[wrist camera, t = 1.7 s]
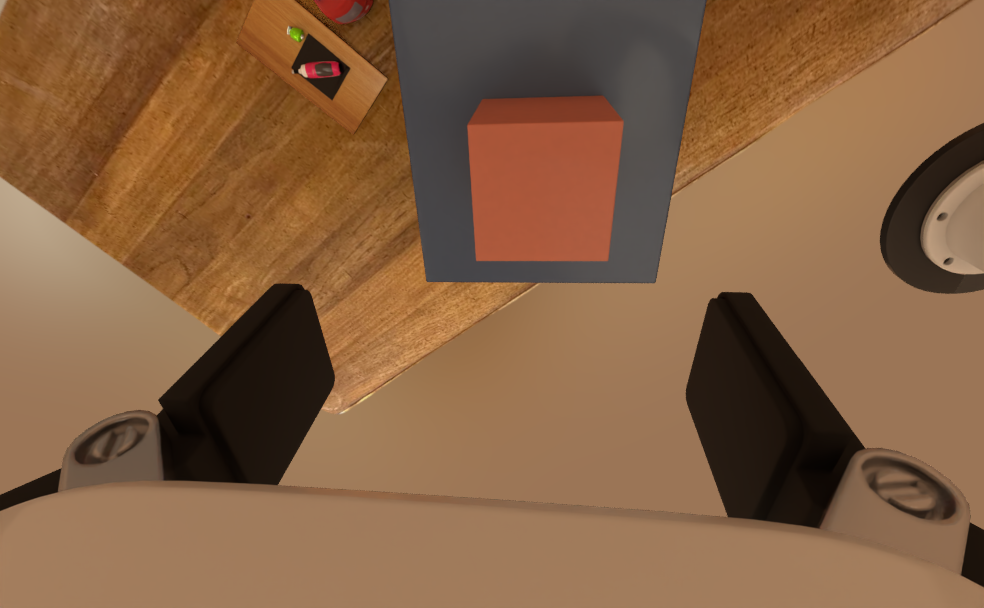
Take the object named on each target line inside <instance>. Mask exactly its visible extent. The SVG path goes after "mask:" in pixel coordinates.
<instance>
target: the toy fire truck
mask: <svg viewBox="0 0 984 608" xmlns="http://www.w3.org/2000/svg"><path fill="white" fill-rule="evenodd" d="M314 1H315V3H316V4H317V6H318V7H319V8H320V10H321V11H322V12H323V13H324V14H325V15H326V16H327V17H328V18H329V19H331V20H333V21H334V22H336V23H338V24H347V23H351V22H354V21H357V20H359V19H361V18H362V17H363V16H364V15H365V14H366V13H367V12H368V11H369V10H370V8H371V6H372V4H373V0H314Z"/></svg>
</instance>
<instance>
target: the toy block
mask: <svg viewBox="0 0 984 608" xmlns="http://www.w3.org/2000/svg"><path fill="white" fill-rule="evenodd" d="M623 125H624V121H623V120H622V118H621V117H620V116H619V115H618V113H617V112H616V111H615V110H614V108H613V107H612V106H611V105H610V103H609V102H608V101H607V100H606V98H605V97H604V96H571V97H537V98H503V99H482V101H481V102H480V104H479V106H478V108H477V109H476V111H475V113H474V114H473V116H472V118H471V120H470V121H469V123H468V125H467V130H468V145H469V160H470V176H471V191H472V207H473V222H474V237H475V253H476V261H608V259H609V250H610V241H611V232H612V223H613V214H614V205H615V196H616V187H617V178H618V169H619V160H620V151H621V142H622V134H623Z"/></svg>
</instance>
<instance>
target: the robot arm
mask: <svg viewBox="0 0 984 608" xmlns="http://www.w3.org/2000/svg"><path fill="white" fill-rule="evenodd" d="M920 240H921V246H922V249H923V251H924V253H925V255H926V256H927V257H928V258H929V259H930V260H931V261H932V262H933V263H934V264H936V265H938V266H939V267H941V268H942V269H945V270H947V271H950V272H953V273H959V274H982V273H984V160H983V161H981V162H980V163H978V164H976V165H975V166H973V167H971V168H970V169H968V170H966V171H965V172H964V173H963V174H961V175H960V176H959V177H957V178H956V179H955V180H954V181H952V182H951V183H950V184H949V185H948V186H947V187H946V188H945V189H944V190H943V191H942V192H941V193H940V195H939V196H938V197H937V198H936V200H935V201H934V202H933V204H932V205H931V207H930V209H929V210H928V212H927V214H926V216H925V218H924V221H923V224H922V227H921V235H920ZM334 381H335V375H334V371H333V367H332V364H331V360H330V357H329V354H328V350H327V347H326V343H325V340H324V337H323V333H322V330H321V326H320V323H319V319H318V316H317V313H316V309H315V306H314V302H313V299H312V296H311V293H310V292H309V291H308V290H304V288H303V286H302V285H300V284H274V285H273V286H271V287H270V288H269V289H268V290H267V291H266V292H265V293H264V294H263V295H262V296H261V297H260V298H259V299H258V300H257V301H256V302H255V303H254V304H253V305H252V306H251V307H250V308H249V309H248V310H247V311H246V312H245V313H244V314H243V315H242V316H241V317H240V318H239V319H238V320H237V321H236V322H235V323H234V324H233V325H232V326H231V327H230V329H229V330H228V331H227V332H226V333H225V334H224V335H223V336H222V337H221V338H220V339H219V340H218V341H217V342H216V343H215V344H214V345H213V346H212V347H211V348H210V349H209V350H208V351H207V352H206V353H205V354H204V355H203V356H202V357H201V358H200V359H199V360H198V361H197V362H196V363H195V364H194V365H193V366H192V367H191V368H190V369H189V370H188V371H187V372H186V373H185V374H184V375H183V376H182V377H181V378H180V379H179V380H178V381H177V382H176V383H175V384H174V385H173V386H172V387H171V388H170V389H169V390H168V391H167V392H166V393H165V394H164V395H163V396H162V397H161V398H160V399H159V400H158V401H159V402H160V404H161V406H162V407H163V410H162V411H161V412H160V413H159V414H158V415H157V416H156V415H155V414H153V413H152V412H150V411H144V410H135V411H127V412H124V413H120V414H117V415H113V416H111V417H109V418H107V419H104V420H102V421H100V422H98V423H96V424H95V425H93V426H92V427H90V428H88V429H87V430H85V431H84V432H83V433H82V434H80V435H79V436H78V437H77V438H76V439H75V440H74V441H73V442H72V443H71V444H70V446H69V447H68V448H67V450H66V452H65V455H64V458H63V462H62V468H61V469H59V470H56V471H54V472H52V473H50V474H47V475H45V476H43V477H40V478H38V479H36V480H34V481H31V482H29V483H26V484H24V485H22V486H20V487H18V488H15V489H13V490H11V491H8V492H6V493H4V494H1V495H0V608H984V530H983V529H981V528H979V527H977V526H976V525H974V524H972V523H970V518H971V515H970V507H969V504H968V502H967V501H966V499H965V497H964V495H963V494H962V492H961V491H960V490H959V489H958V488H957V487H956V486H955V485H954V484H953V483H952V482H951V480H950V479H948V478H947V477H946V476H944V475H943V474H941V473H940V472H939V471H938V470H936V469H935V468H933V467H932V466H930V465H928V464H926V463H924V462H922V461H921V460H919V459H917V458H915V457H912V456H909V455H906V454H904V453H901V452H898V451H893V450H889V449H883V448H867V449H865V447H864V446H863V445H862V443H861V442H860V441H859V439H858V438H857V436H856V435H855V434H854V432H853V431H852V430H851V428H850V427H849V426H848V424H847V423H846V421H845V420H844V419H843V417H842V416H841V415H840V413H839V412H838V411H837V409H836V408H835V406H834V405H833V404H832V402H831V401H830V400H829V398H828V397H827V396H826V394H825V393H824V391H823V390H822V389H821V387H820V386H819V385H818V383H817V382H816V380H815V379H814V378H813V376H812V375H811V374H810V372H809V371H808V370H807V368H806V367H805V366H804V364H803V363H802V362H801V360H800V359H799V358H798V357H797V355H796V354H795V353H794V351H793V350H792V348H791V347H790V346H789V344H788V343H787V342H786V340H785V339H784V338H783V336H782V335H781V333H780V332H779V331H778V329H777V328H776V327H775V325H774V324H773V322H772V321H771V320H770V318H769V317H768V316H767V314H766V313H765V311H764V310H763V309H762V307H761V306H760V305H759V303H758V302H757V301H756V299H755V298H754V297H753V295H752V294H751V293H741V292H722V293H720V294H719V296H718V297H717V298H715V299H714V298H712V299H711V300H710V302H709V303H708V307H707V311H706V314H705V318H704V322H703V326H702V330H701V334H700V338H699V341H698V345H697V349H696V353H695V357H694V361H693V364H692V369H691V372H690V376H689V380H688V384H687V388H686V401H687V405H688V407H689V410H690V413H691V415H692V419H693V421H694V424H695V427H696V429H697V432H698V435H699V438H700V441H701V444H702V446H703V449H704V452H705V454H706V457H707V460H708V463H709V465H710V468H711V471H712V474H713V476H714V480H715V482H716V485H717V488H718V491H719V493H720V496H721V499H722V502H723V504H724V507H725V510H726V512H727V515H728V517H720V516H707V515H696V514H685V513H674V512H663V511H650V510H635V509H622V508H609V507H594V506H581V505H567V504H554V503H538V502H525V501H511V500H497V499H482V498H467V497H453V496H437V495H423V494H408V493H393V492H378V491H361V490H346V489H329V488H313V487H297V486H281V485H278V484H279V482H280V480H281V478H282V477H283V475H284V473H285V471H286V470H287V468H288V466H289V464H290V463H291V461H292V459H293V457H294V455H295V454H296V452H297V450H298V448H299V447H300V445H301V443H302V441H303V440H304V437H305V436H306V434H307V432H308V431H309V429H310V427H311V425H312V424H313V422H314V420H315V418H316V417H317V415H318V413H319V411H320V410H321V408H322V406H323V404H324V403H325V401H326V399H327V397H328V395H329V394H330V392H331V390H332V388H333V386H334Z"/></svg>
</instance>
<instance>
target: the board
mask: <svg viewBox="0 0 984 608" xmlns="http://www.w3.org/2000/svg"><path fill="white" fill-rule="evenodd" d="M236 43H237V44H238V45H240V46H241V47H242V48H244V49H245V50H246V51H247V52H249V53H250V54H251V55H252V56H254V57H255V58H256V59H258V60H259V61H260V62H261V63H263V64H264V65H265V66H266V67H268V68H269V69H270V70H272V71H273V72H274V73H275V74H277V75H278V76H279V77H280V78H282V79H283V80H284V81H286V82H287V83H288V84H289V85H291V86H292V87H293V88H294V89H296V90H297V91H298V92H300V93H301V94H302V95H303V96H305V97H306V98H307V99H308V100H310V101H311V102H312V103H313V104H315V105H316V106H317V107H319V108H320V109H321V110H322V111H324V112H325V113H326V114H327V115H329V116H330V117H331V118H333V119H334V120H335V121H336V122H338V123H339V124H340V125H341V126H343V127H344V128H345V129H347V130H348V131H349V132H350V133H352V134H354V133H355V132H356V130H357V128H358V127H359V125H360V123H361V122H362V120H363V119H364V117H365V115H366V114H367V112H368V111H369V109H370V107H371V106H372V104H373V103H374V101H375V99H376V98H377V96H378V95H379V93H380V91H381V90H382V88H383V86H384V85H385V83H386V82H387V80H388V78H387V77H385V76H384V75H383V74H382V73H381V72H380V71H378V70H377V69H376V68H375V67H374V66H372V65H371V64H370V63H369V62H368V61H367V60H365V59H364V58H363V57H362V56H361V55H360V54H358V53H357V52H356V51H355V50H354V49H353V48H351V47H350V46H349V45H348V44H347V43H345V42H344V41H343V40H342V39H341V38H340V37H338V36H337V35H336V34H335V33H334V32H333V31H331V30H330V29H329V28H328V27H327V26H325V25H324V24H323V23H322V22H321V21H320V20H318V19H317V18H316V17H315V16H314V15H313V14H311V13H310V12H309V11H308V10H307V9H306V8H304V7H303V6H302V5H301V4H300V3H298V2H297V1H296V0H254V1H253V4H252V6H251V9H250V11H249V13H248V16H247V18H246V20H245V23H244V25H243V28H242V30H241V32H240V35H239V37H238V39H237V42H236Z"/></svg>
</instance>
